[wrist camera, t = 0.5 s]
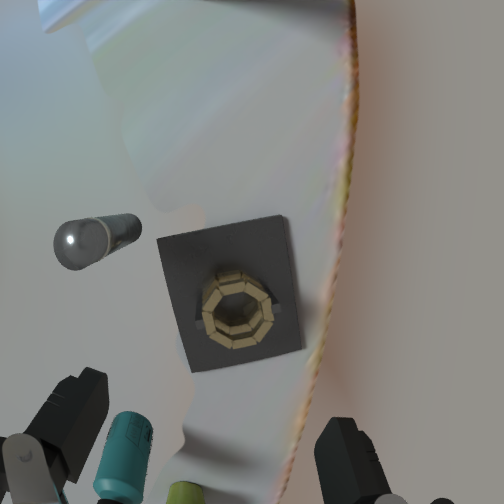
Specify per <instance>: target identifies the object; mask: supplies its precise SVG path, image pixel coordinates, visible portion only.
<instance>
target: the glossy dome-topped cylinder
mask: <svg viewBox="0 0 504 504" xmlns="http://www.w3.org/2000/svg"><path fill="white" fill-rule="evenodd" d="M141 232H142V225H141V222H140V220H139V219H138V217H136V216H135V215H133V214H119V215H111V216H103V217H95V218H93V217H91V218H85V219H80V220H73V221H68V222H66V223H64V224H62V225H61V226H60V227H59V229H58V230H57V232H56V234H55V237H54V252H55V255H56V257H57V259H58V261H59V262H60V263H61V264H62V265H63V266H64V267H66V268H67V269H70V270H81V269H83V268H85V267H87V266H89V265H91V264H93V263H95V262H98V261H100V260H101V259H103V258H104V257H106V256H107V255H109V254H111V253H113V252H115V251H117V250H119V249H121V248H123V247H125V246H126V245H128V244H130V243H132V242H134V241H136V240H137V239H138V238H139V237H140V235H141Z"/></svg>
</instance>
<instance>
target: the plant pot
mask: <svg viewBox="0 0 504 504" xmlns="http://www.w3.org/2000/svg"><path fill="white" fill-rule="evenodd" d="M166 504H205V501H204V497H203V492H202V489H201V487H200V486H198V485H197V484H191V483H189V482H176V483H174V484H172V486H171V487H170V490H169V494H168V498H167V502H166Z"/></svg>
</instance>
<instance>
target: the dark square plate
mask: <svg viewBox="0 0 504 504" xmlns="http://www.w3.org/2000/svg"><path fill="white" fill-rule="evenodd" d="M157 244H158V249H159V253H160V258H161V262H162V267H163V271H164V275H165V279H166V283H167V287H168V291H169V295H170V299H171V302H172V307H173V310H174V314H175V317H176V321H177V325H178V329H179V332H180V336H181V339H182V342H183V346H184V349H185V352H186V356H187V359H188V362H189V365H190V369H191V372H192V373H195V372H200V371H206V370H211V369H217V368H222V367H227V366H232V365H237V364H242V363H246V362H251V361H255V360H260V359H264V358H268V357H273V356H277V355H281V354H285V353H289V352H293V351H296V350H300V349H301V341H300V333H299V326H298V318H297V311H296V304H295V297H294V290H293V283H292V277H291V270H290V264H289V257H288V251H287V244H286V238H285V232H284V226H283V220H282V215H275V216H269V217H264V218H258V219H253V220H248V221H242V222H237V223H232V224H227V225H222V226H217V227H212V228H206V229H202V230H197V231H192V232H187V233H182V234H177V235H172V236H168V237H163V238H158V239H157Z"/></svg>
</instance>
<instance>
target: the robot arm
mask: <svg viewBox="0 0 504 504" xmlns="http://www.w3.org/2000/svg"><path fill="white" fill-rule="evenodd" d="M108 410H109V393H108V377H107V374H106V373H103V372H100V371H97V370H95V369H92V368H89V367H86V368H85V369H84V370H83V371H82V373H81V374H80V376H79V377H78V378H76V377H74V376H71V375H70V376H69V377H67V378H65V379H64V380H62V381H60V382H59V383H58V385H57V386H56V387H55V389H54V390H53V392H52V394H51V395H50V396H49V397H48V399H47V401H46V402H45V403H44V404H43V406H42V407H41V409H40V410H39V411H38V413H37V415H36V416H35V417H34V419H33V420H32V422H31V423H30V425H29V426H28V428H27V429H26V430H25V432H23V433H19V434H13V435H11V436H9V437H8V438H5V437H0V504H1V502H2V500H3V498H4V495H5V493H6V491H8V492H10V494H11V498H12V502H13V504H69V503H68V501H67V498H66V496H65V493H64V490H63V487H64V485H65V483H66V480H68V481H71V482H73V483H75V484H76V483H77V481H78V479H79V476H80V474H81V472H82V469H83V467H84V465H85V462H86V460H87V458H88V456H89V453H90V451H91V449H92V447H93V445H94V442H95V440H96V438H97V436H98V433H99V432H100V429H101V427H102V425H103V423H104V421H105V419H106V417H107V414H108ZM314 456H315V461H316V466H317V471H318V475H319V481H320V485H321V490H322V495H323V500H324V504H407V502H406V501H405V500H404V499H403V498H402V497H400V496H398V495H395V494H392V492H391V490H390V487H389V485H388V482H387V479H386V477H385V474H384V472H383V469H382V466H381V464H380V462H379V461H378V460H379V458H378V456H377V454H376V453H375V449H374V446H373V443H372V441H371V439H370V438H369V437H368V436H367V435H366V434H365V433H364V431H358V428H357V425H356V423H355V421H354V419H353V418H346V417H343V418H342V417H332V418H331V419H330V421H329V422H328V424H327V425H326V427H325V429H324V430H323V432H322V433H321V435H320V437H319V438H318V440H317V441H316V444H315V448H314ZM431 504H454V503H453V502H452V501H451V500H449V499H446V498H439V499H436V500H434V501H433V502H432V503H431Z"/></svg>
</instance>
